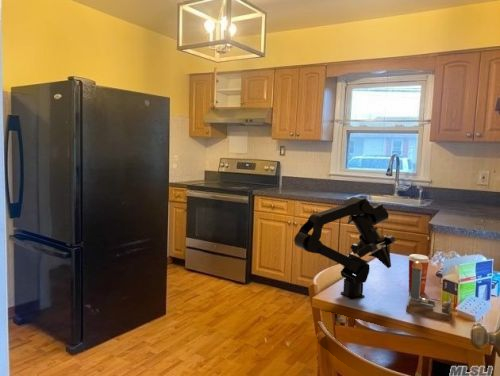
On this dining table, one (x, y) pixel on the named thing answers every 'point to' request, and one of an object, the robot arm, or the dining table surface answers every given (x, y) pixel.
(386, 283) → the dining table surface
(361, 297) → the robot arm
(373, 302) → the dining table surface
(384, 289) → the dining table surface
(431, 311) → the press bench
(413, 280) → the press handle
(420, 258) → the paper cup
